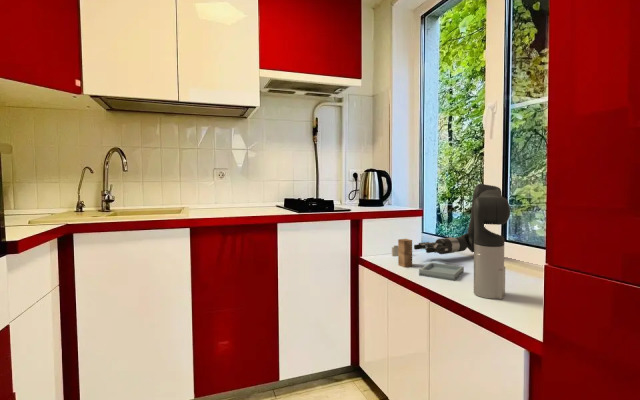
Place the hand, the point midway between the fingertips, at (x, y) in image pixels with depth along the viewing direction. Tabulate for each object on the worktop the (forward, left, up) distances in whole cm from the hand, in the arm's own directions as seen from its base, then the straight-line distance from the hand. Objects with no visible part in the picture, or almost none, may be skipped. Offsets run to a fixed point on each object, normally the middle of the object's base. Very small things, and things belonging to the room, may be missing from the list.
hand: (420, 248), depth 162 cm
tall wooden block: (+4, +7, -7) cm, 11 cm away
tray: (-14, +12, -7) cm, 20 cm away
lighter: (+15, -11, -7) cm, 20 cm away
